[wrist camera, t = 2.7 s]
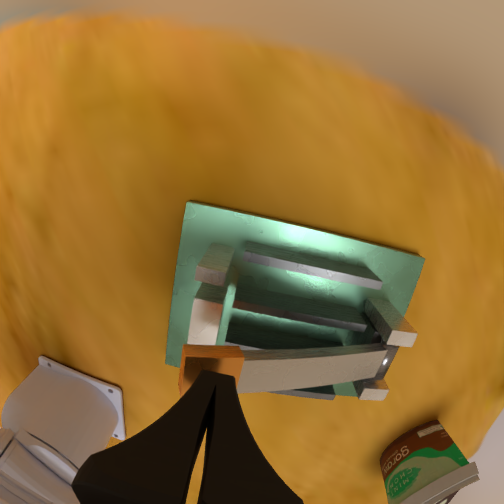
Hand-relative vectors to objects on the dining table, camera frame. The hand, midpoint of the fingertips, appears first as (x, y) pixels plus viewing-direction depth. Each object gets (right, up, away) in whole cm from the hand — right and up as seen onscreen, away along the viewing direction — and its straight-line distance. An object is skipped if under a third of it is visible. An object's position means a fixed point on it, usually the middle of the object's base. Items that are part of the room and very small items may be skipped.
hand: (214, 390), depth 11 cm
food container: (+18, -16, +14) cm, 28 cm away
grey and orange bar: (+4, 0, +3) cm, 5 cm away
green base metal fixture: (+4, +1, +9) cm, 10 cm away
